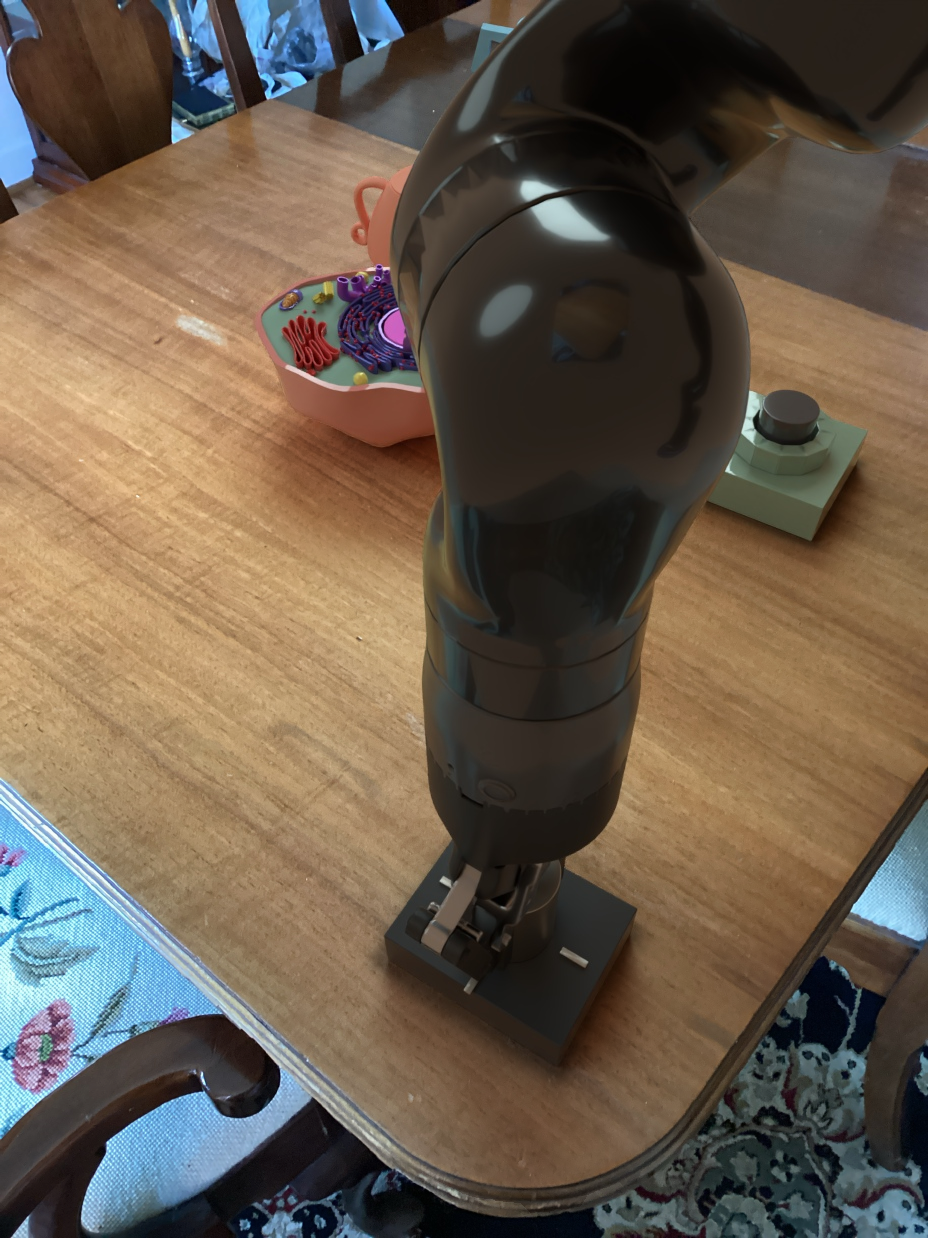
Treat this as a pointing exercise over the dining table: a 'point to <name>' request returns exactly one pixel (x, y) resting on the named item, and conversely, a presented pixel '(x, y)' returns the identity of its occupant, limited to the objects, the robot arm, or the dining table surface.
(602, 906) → the panel
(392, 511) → the dining table surface
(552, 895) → the knob
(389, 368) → the cell model
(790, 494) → the button base
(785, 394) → the button
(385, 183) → the sugar bowl
